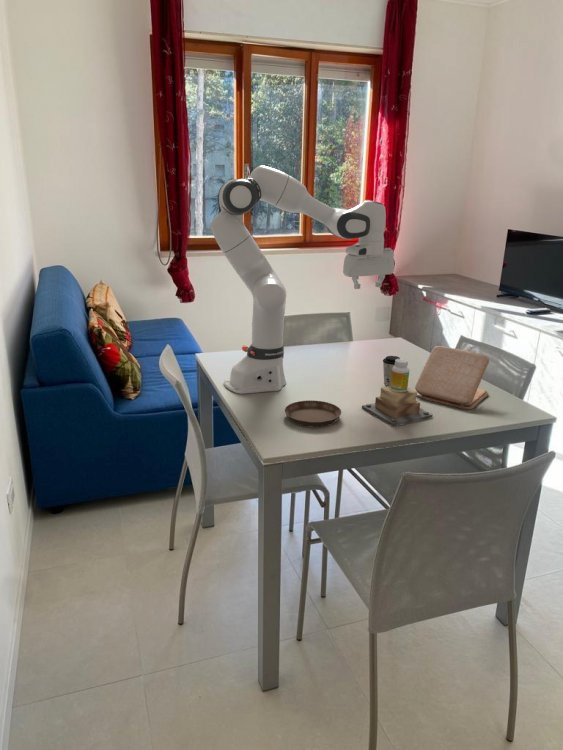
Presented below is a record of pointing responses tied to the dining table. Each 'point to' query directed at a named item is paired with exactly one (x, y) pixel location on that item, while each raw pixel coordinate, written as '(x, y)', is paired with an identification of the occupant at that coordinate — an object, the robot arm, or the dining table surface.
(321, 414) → the plant saucer
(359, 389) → the dining table surface
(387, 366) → the coffee cup
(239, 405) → the dining table surface
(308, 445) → the dining table surface
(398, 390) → the supplement bottle
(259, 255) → the robot arm
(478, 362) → the case
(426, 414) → the tower
